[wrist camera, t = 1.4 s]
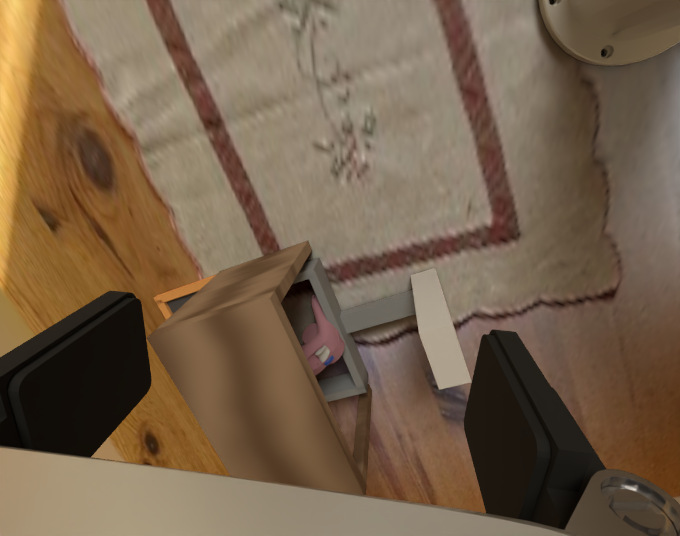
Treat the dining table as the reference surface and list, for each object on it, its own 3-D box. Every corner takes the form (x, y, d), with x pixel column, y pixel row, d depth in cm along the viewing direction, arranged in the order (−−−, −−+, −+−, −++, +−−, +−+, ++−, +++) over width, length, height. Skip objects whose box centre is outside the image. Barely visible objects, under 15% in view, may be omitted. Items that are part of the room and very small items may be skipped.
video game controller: (274, 349, 44) (276, 406, 39) (245, 332, 42) (243, 391, 37) (343, 308, 42) (356, 363, 36) (317, 286, 39) (327, 343, 34)
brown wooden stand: (307, 240, 38) (269, 298, 26) (371, 390, 43) (365, 498, 31) (220, 271, 40) (146, 337, 28) (291, 410, 46) (255, 517, 33)
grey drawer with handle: (420, 223, 36) (433, 265, 26) (461, 350, 40) (487, 430, 30) (229, 287, 40) (175, 344, 30) (284, 395, 45) (253, 477, 34)
